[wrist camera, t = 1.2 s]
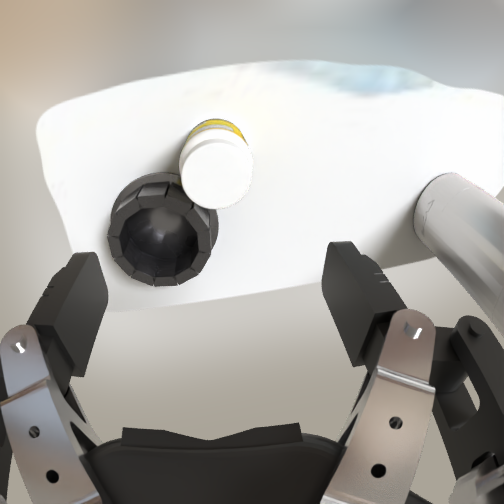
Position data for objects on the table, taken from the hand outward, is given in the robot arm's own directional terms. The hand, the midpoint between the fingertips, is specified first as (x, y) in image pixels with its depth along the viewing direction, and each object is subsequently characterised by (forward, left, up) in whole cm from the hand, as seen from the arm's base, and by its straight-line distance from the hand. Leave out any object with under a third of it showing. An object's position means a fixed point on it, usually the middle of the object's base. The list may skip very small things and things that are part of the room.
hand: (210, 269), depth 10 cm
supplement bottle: (0, -1, -16) cm, 16 cm away
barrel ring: (+5, +6, -16) cm, 18 cm away
